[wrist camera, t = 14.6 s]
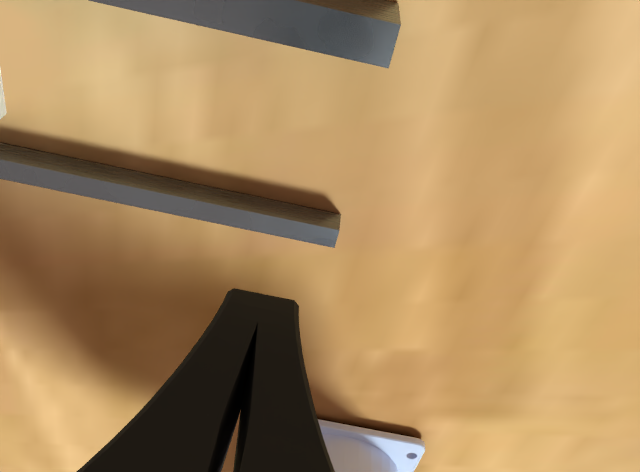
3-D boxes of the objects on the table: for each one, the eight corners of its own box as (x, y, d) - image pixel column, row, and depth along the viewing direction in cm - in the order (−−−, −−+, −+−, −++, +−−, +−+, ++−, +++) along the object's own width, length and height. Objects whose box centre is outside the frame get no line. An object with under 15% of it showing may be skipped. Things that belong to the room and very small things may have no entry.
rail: (335, 231, 22) (331, 284, 20) (-142, 131, 21) (-209, 175, 19) (398, 3, 17) (402, 37, 15) (-225, -143, 16) (-331, -132, 14)
